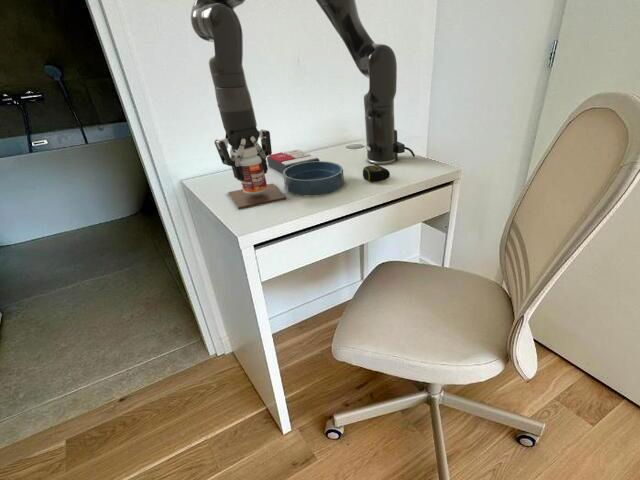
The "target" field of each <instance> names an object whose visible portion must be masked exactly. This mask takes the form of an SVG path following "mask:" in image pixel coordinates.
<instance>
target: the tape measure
mask: <svg viewBox="0 0 640 480" xmlns="http://www.w3.org/2000/svg"><path fill="white" fill-rule="evenodd" d="M362 177H363V180H364V181H367V182H370V183H380V182H384V181H385V180H388V179H389V178H390V177H391V172H390V170H389V169H387V168H385V167H383V166H381V165H380V164H372V165H367V166H366V165H365V166H364V167H363V169H362Z"/></svg>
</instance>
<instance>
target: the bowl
mask: <svg viewBox="0 0 640 480" xmlns="http://www.w3.org/2000/svg"><path fill="white" fill-rule="evenodd" d="M282 177H283V182H284V188H285V190H286V191H287V192H288V193H290V194H293V195H295V196H296V195H297V196H302V197H303V196H305V197H314V196H315V197H316V196H323V195H328V194H331V193H334V192H337V191H339V190H341V189H342V188H344V185H345V175H344V168H343V166H342V165H340V164H339V163H336V162H332V161H325V160H324V161H323V160H319V161H313V162H304V163H299V164H295V165H292V166H290V167H288V168H286V169H285V170H284V171H283V174H282Z"/></svg>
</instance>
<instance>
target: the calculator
mask: <svg viewBox="0 0 640 480" xmlns="http://www.w3.org/2000/svg"><path fill="white" fill-rule="evenodd" d="M313 161H320V158H318V157H316V156H314V155H312V154H311V153H307V152H306V151H302V150H300V149H293V150H287V151H284V152H278V153H273V154H271V155H268V156H267V157H266V162H267V166H268V168H271V169H273V170H275V171H277V172H279V173H281V174H282V175H283V171H284V170H285V169H286V168H288V167H290V166H292V165H295V164H299V163H304V162H313Z"/></svg>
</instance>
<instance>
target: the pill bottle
mask: <svg viewBox="0 0 640 480" xmlns="http://www.w3.org/2000/svg"><path fill="white" fill-rule="evenodd" d="M237 151H238V150H235V152H236V153H237ZM256 154H258V151H257V148H256V147H254V146H253V147H250V148H246V149H244V150H243V156H242V158H241V160H240V165H239V166H241V169H242V173H243V177H244V180H243V181H240V185H241V188H242V189H243V191H244V192H245V193H247V194H259V193H262V192H265V191H266V190H267V184H268V183H267V179H266V175H265V174H264V169H263V165H262V160H261V158H260V157H259V156H258V155H256Z"/></svg>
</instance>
